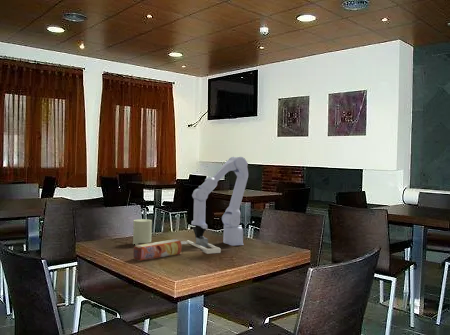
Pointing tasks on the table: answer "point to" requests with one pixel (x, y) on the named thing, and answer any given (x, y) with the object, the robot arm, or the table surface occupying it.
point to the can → (142, 231)
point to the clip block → (202, 241)
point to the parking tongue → (184, 242)
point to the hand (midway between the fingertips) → (198, 241)
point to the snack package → (157, 249)
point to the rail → (205, 250)
